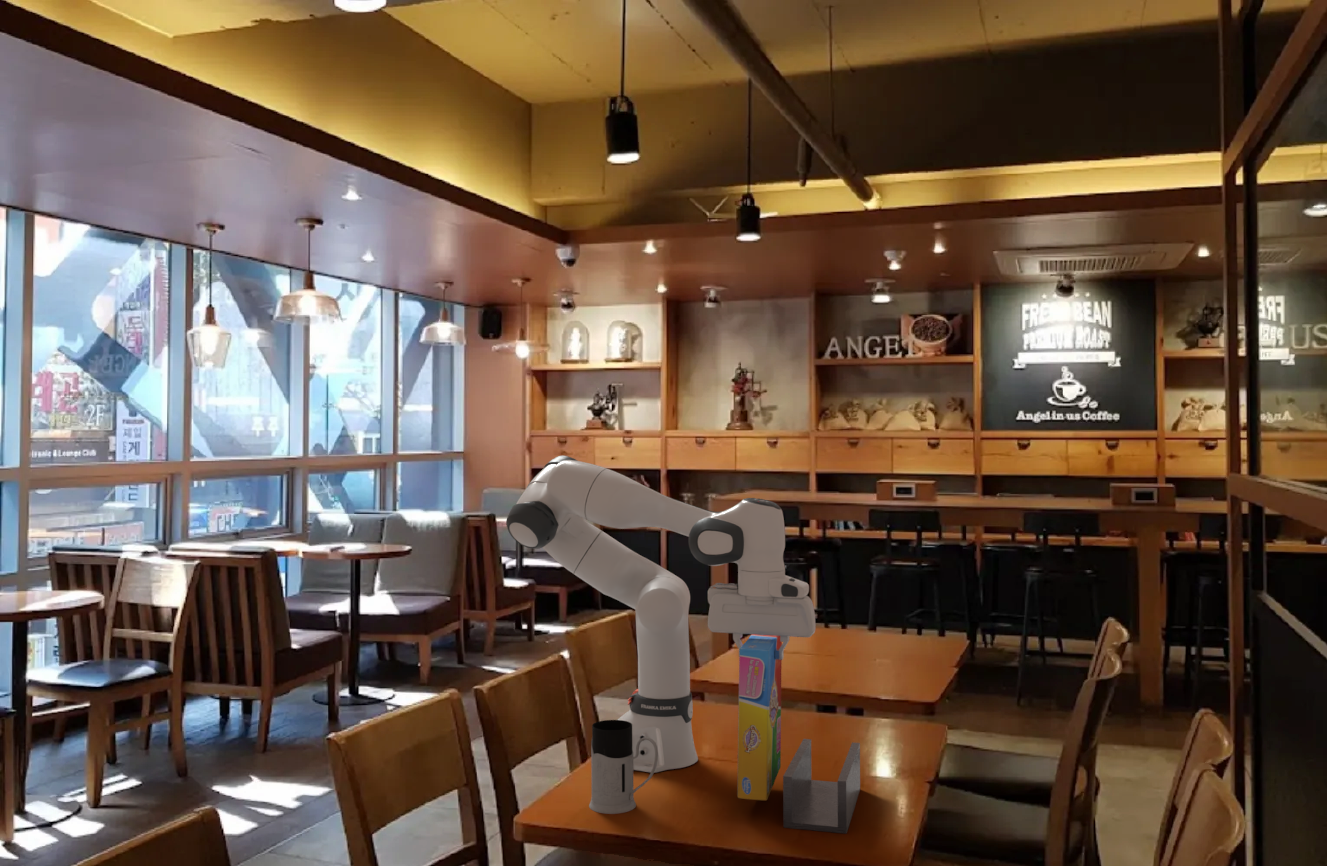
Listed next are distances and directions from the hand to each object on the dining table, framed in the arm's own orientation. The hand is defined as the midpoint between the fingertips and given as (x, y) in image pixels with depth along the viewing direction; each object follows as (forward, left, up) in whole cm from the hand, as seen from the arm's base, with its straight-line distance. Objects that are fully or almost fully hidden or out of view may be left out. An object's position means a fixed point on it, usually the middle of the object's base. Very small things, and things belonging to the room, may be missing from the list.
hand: (761, 657), depth 199 cm
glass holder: (-24, -10, -27) cm, 38 cm away
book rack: (+12, 0, -27) cm, 29 cm away
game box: (0, 0, -24) cm, 24 cm away
